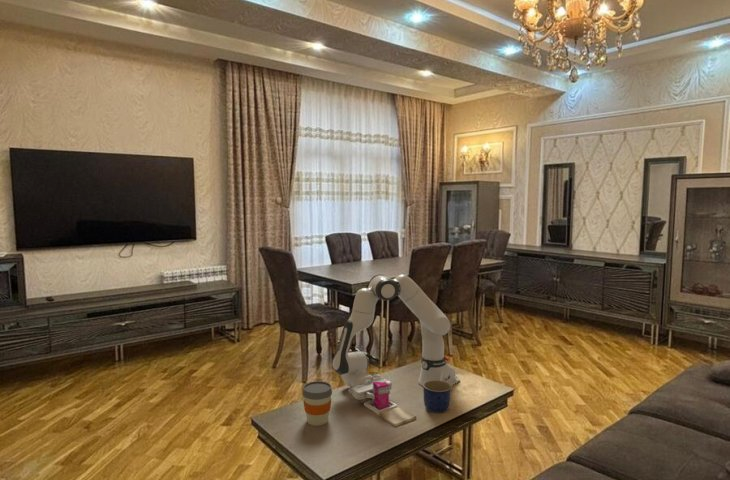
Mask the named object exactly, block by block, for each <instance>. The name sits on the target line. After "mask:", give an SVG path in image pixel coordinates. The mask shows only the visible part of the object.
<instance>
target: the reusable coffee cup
mask: <svg viewBox="0 0 730 480" xmlns="http://www.w3.org/2000/svg"><path fill="white" fill-rule="evenodd" d="M332 390H333V389H332V384H331V383H330V382H326V381H322V380H320V381H319V380H317V381H311V382H308V383H305V384H304V385H303V387H302V395H303V396H302V397H303V401H302V402H303V407H304V412H305V415H306V421H307V423H308V424H309V425H311V426H315V427H316V426H318V427H319V426H322V425H326V424H327V423H328V421H329V413H330V411H331V404H332V395H333V391H332Z"/></svg>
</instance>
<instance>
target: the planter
mask: <svg viewBox="0 0 730 480" xmlns="http://www.w3.org/2000/svg"><path fill="white" fill-rule="evenodd" d="M422 387H423V388H422V391H423V403H424V407H425V408H426V410H428V411H429V412H432V413H438V414H439V413H444V412H446V411H448V410H449V409H450V408H449V407H450V402H451V394H452V393H451V391H452V386H450V384H448V383H447V382H444V381H440V380H430V381H427V382H425V383H424V385H423V386H422Z"/></svg>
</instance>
